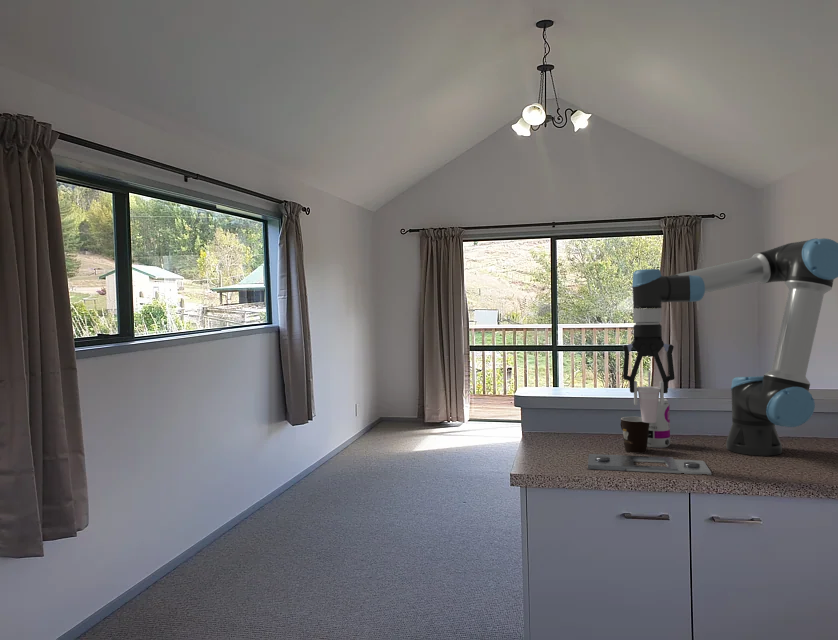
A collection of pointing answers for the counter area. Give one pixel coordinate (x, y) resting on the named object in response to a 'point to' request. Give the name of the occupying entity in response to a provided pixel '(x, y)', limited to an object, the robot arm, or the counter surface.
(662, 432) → the supplement can
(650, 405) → the smoothie
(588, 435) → the counter surface
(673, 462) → the link plate
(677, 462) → the link plate
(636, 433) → the coffee mug
